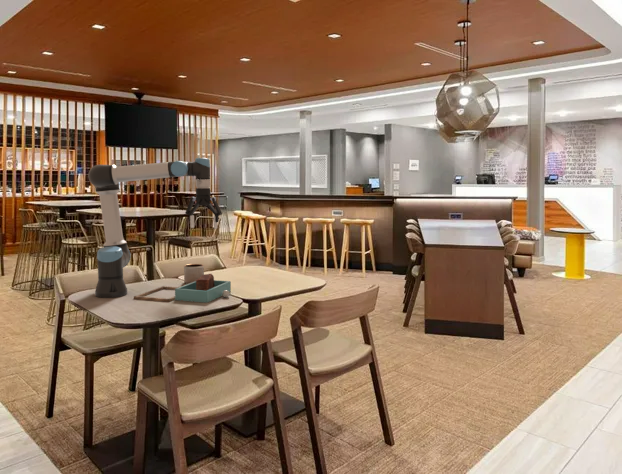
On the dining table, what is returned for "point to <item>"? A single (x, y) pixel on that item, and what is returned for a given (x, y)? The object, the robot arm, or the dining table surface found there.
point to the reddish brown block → (205, 282)
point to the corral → (153, 297)
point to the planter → (193, 272)
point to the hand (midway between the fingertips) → (203, 228)
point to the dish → (201, 292)
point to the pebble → (225, 293)
